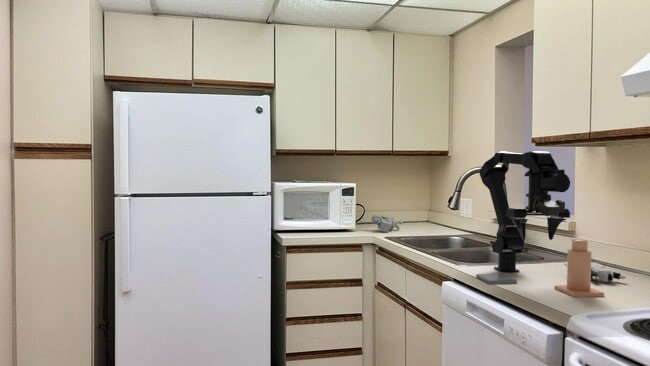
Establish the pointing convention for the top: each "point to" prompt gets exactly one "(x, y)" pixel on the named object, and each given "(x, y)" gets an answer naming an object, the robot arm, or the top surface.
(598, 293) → the terracotta tile
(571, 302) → the top surface
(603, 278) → the robot toy
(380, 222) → the figurine
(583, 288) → the terracotta vase
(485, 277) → the slate tile
